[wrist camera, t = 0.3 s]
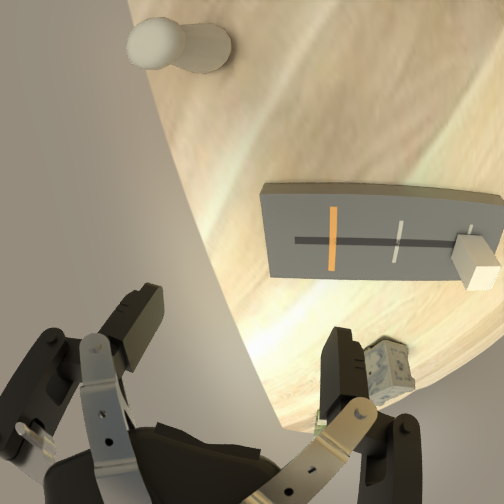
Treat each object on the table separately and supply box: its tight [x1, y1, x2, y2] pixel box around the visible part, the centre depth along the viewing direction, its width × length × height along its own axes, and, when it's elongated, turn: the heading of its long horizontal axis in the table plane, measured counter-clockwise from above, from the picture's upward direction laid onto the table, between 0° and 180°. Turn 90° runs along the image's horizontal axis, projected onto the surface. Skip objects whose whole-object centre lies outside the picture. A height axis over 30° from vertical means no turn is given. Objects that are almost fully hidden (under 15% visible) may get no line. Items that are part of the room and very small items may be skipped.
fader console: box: [260, 183, 504, 281], centre depth 30 cm, size 32×12×3 cm, turn 98°
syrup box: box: [313, 410, 327, 440], centre depth 63 cm, size 6×6×14 cm
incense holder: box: [364, 340, 415, 406], centre depth 43 cm, size 10×8×10 cm
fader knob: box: [451, 234, 502, 291], centre depth 24 cm, size 4×4×6 cm
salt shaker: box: [126, 17, 231, 74], centre depth 18 cm, size 6×6×13 cm
